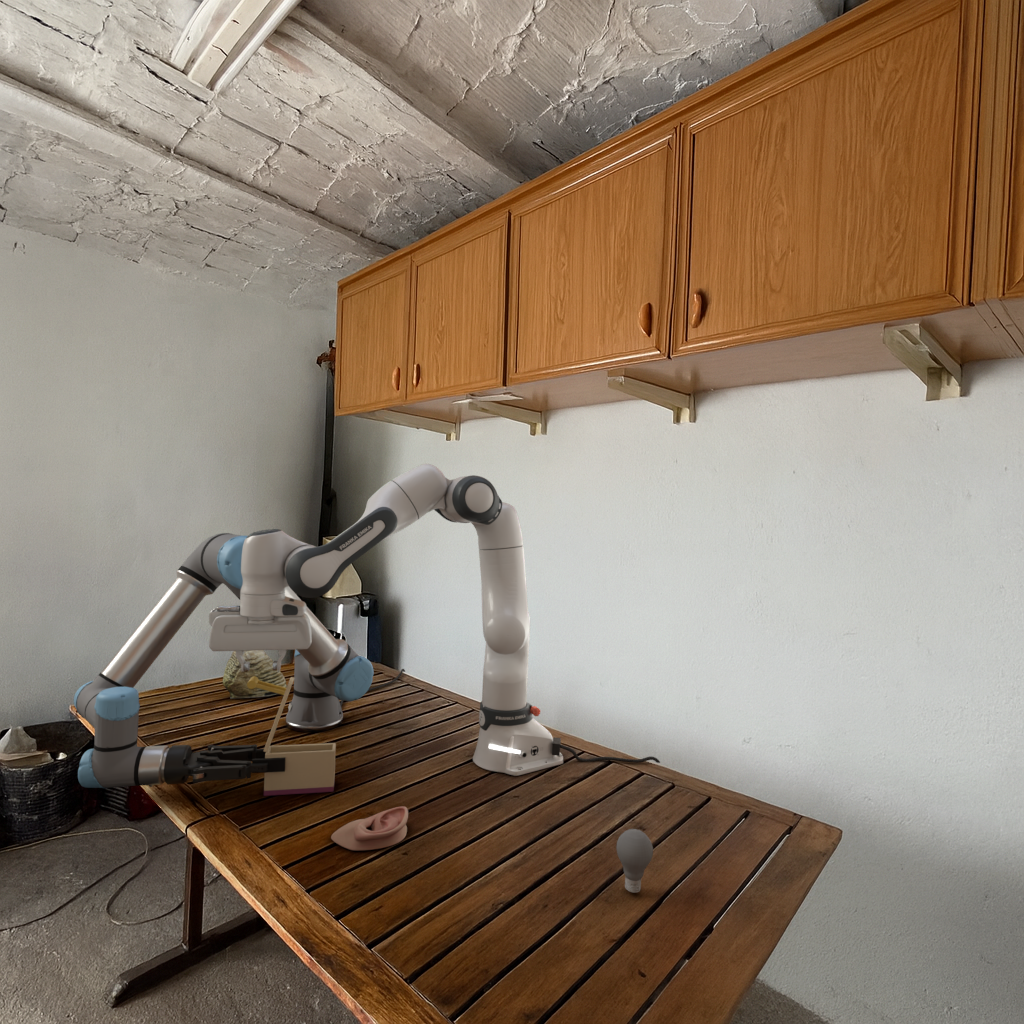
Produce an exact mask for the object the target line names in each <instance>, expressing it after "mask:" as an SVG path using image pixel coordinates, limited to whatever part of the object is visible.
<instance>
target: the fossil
mask: <svg viewBox="0 0 1024 1024" xmlns="http://www.w3.org/2000/svg"><path fill="white" fill-rule="evenodd" d="M242 656H243V657H244V659H245V661H246V662H250V665H249V666H250V670H249V671H248V672H241V664H240V662H239V661H238V659H237V658H236V651H232V653H231V656H230V657H229V659H228V660H227V663H226V666H225V668H224V671H223V675H222V676H223V677H222V685H223V687H224V688H225V690H226V691H228V693H229V698H230V699H250V698H264V697H271V696H275V695H279V694H278V693H274V692H271V691H267V690H263V689H260V688H256V687H255V688H254V689H249V688H248V687H247V683H248V681H249V680H250V678H251V677H253V676H256V677H257V678H258V679H259V680H260V681H263V682H267V683H271V684H274V685H278V686H281V687H285V688H287V685H288V684H287V680H286V678H285V676H284V674H283V673H282V672H281V670H280V671H273V661H274V660H273V659H272V658H271V657H270V656H269V655H268V654H267V653H266V652H265V650H254V651H244V654H243V655H242Z"/></svg>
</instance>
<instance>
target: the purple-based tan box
mask: <svg viewBox="0 0 1024 1024" xmlns="http://www.w3.org/2000/svg"><path fill="white" fill-rule="evenodd" d="M336 747H337V743H336V742H328V743H327V742H326V743H325V742H324V743H304V744H283V745H281V744H280V745H270V747H269V749H268V752H266V754H265V758H285V757H286V759H285V772H266V773H263V775H264V777H263V781H264V782H263V797H269V796H282V795H283V796H284V795H299V794H300V795H301V794H316V793H317V794H319V793H330V792H331V793H333V792H334V791H335V782H336V781H335V779H336V778H335V777H336V773H335V772H336V753H337V751H336V750H337V748H336Z"/></svg>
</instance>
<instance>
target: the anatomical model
mask: <svg viewBox="0 0 1024 1024" xmlns="http://www.w3.org/2000/svg"><path fill="white" fill-rule="evenodd" d="M408 819H409V809H408V808H407V807H406V806H405V805H404V806H402V805H401V806H396V807H393V808H389V809H386V810H382V811H381V812H378V813H376V814H373V815H371V816H369V817H365V818H360V819H356V820H352V821H350V822H348V823H345V824H344V825H343V826H341V827H339V828H337V830H335V831H334V832H333V833H332V834H331V836H330V839H331V841H333V843H336V845H338V846H339V847H342V848H344V849H347V850H350V851H357V852H359V851H371V850H379V849H383V848H388V847H392V846H394V845H396V844H399V843H400V842H402V841H403V840H404V839H405V838H406V836H407V832H408V827H407V822H408Z"/></svg>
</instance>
